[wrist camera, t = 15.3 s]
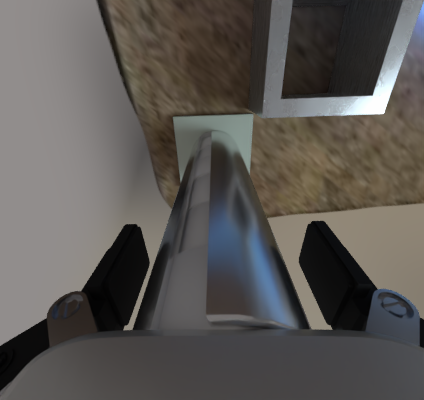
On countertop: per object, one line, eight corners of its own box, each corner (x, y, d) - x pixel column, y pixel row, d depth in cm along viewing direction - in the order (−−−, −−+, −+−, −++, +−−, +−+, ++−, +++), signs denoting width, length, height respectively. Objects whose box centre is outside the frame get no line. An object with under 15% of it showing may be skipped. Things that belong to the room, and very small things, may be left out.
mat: (173, 116, 26) (172, 117, 25) (252, 113, 26) (253, 114, 25) (182, 186, 31) (181, 189, 30) (247, 184, 31) (248, 187, 30)
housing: (254, -12, 20) (277, -63, 13) (366, -17, 20) (449, -72, 13) (248, 109, 25) (262, 117, 19) (336, 106, 25) (383, 113, 18)
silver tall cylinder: (190, 174, 29) (121, 444, 7) (193, 127, 26) (86, 359, 4) (235, 179, 29) (297, 450, 8) (243, 133, 26) (391, 376, 4)
